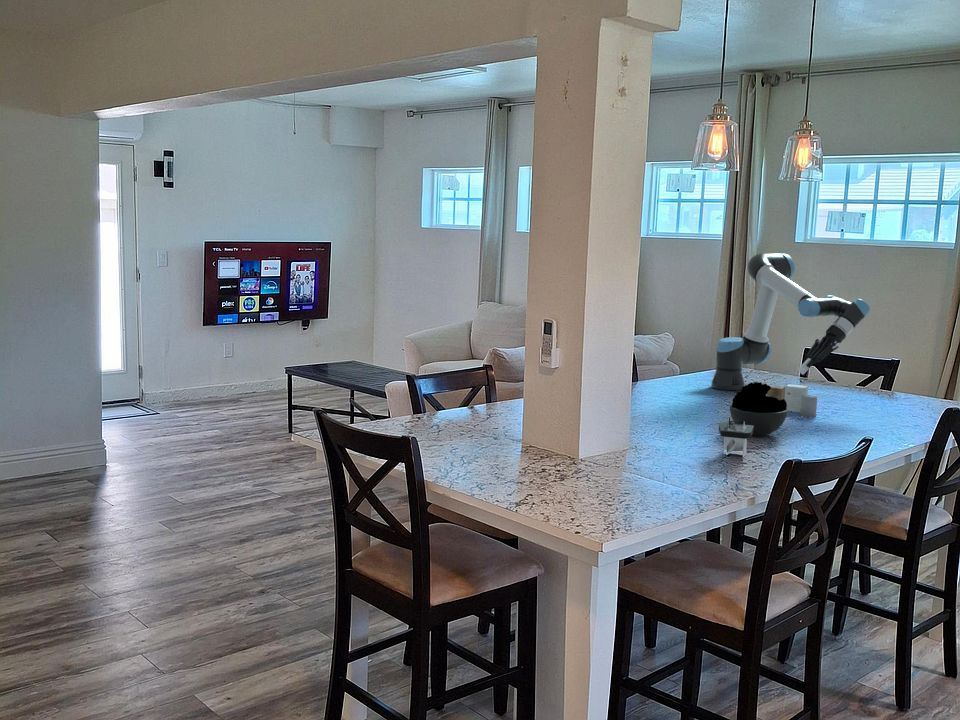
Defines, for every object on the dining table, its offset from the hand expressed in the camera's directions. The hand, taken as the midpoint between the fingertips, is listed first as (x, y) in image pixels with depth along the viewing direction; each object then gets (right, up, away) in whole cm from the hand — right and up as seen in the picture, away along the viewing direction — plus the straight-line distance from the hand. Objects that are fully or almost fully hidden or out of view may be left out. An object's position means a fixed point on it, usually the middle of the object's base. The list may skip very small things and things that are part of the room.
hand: (800, 371), depth 369 cm
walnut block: (-6, -14, +13) cm, 20 cm away
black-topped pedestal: (-48, -27, -74) cm, 93 cm away
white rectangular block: (0, -18, -8) cm, 20 cm away
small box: (-1, -16, +2) cm, 17 cm away
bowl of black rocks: (-31, -22, -42) cm, 56 cm away
